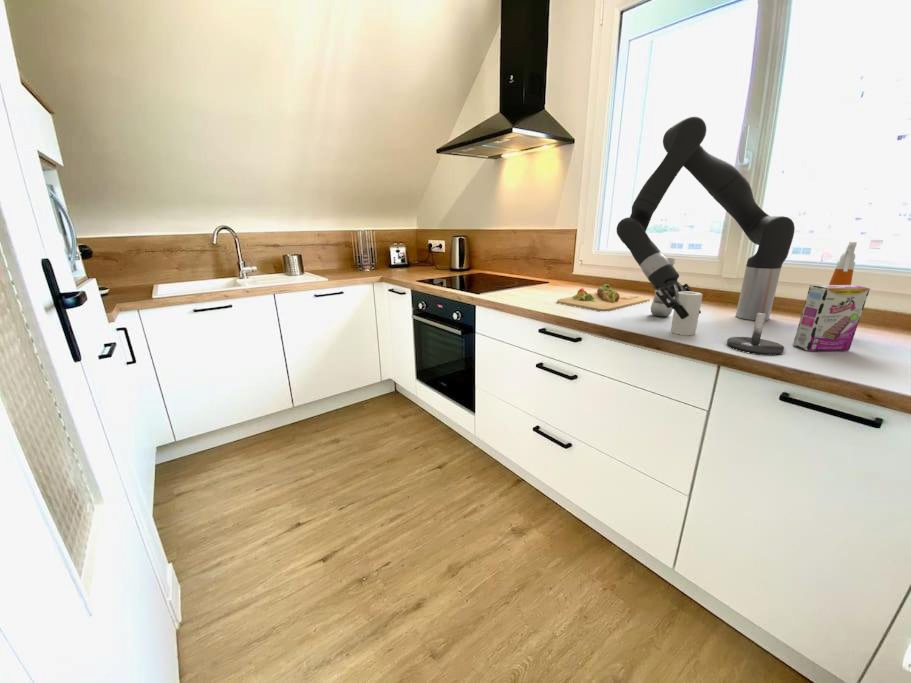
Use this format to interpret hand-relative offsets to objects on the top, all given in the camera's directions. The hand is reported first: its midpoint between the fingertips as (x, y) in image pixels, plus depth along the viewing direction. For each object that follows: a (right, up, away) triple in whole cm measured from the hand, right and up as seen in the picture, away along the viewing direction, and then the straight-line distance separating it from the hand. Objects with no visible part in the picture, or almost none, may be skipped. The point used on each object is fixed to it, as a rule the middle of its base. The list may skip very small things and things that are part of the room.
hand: (691, 315), depth 112 cm
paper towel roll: (-1, -5, +3) cm, 6 cm away
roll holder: (+9, -9, -11) cm, 17 cm away
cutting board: (-7, +8, +49) cm, 50 cm away
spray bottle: (+39, -6, 0) cm, 39 cm away
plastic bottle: (+3, +1, +24) cm, 24 cm away
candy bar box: (+26, -10, -12) cm, 30 cm away
